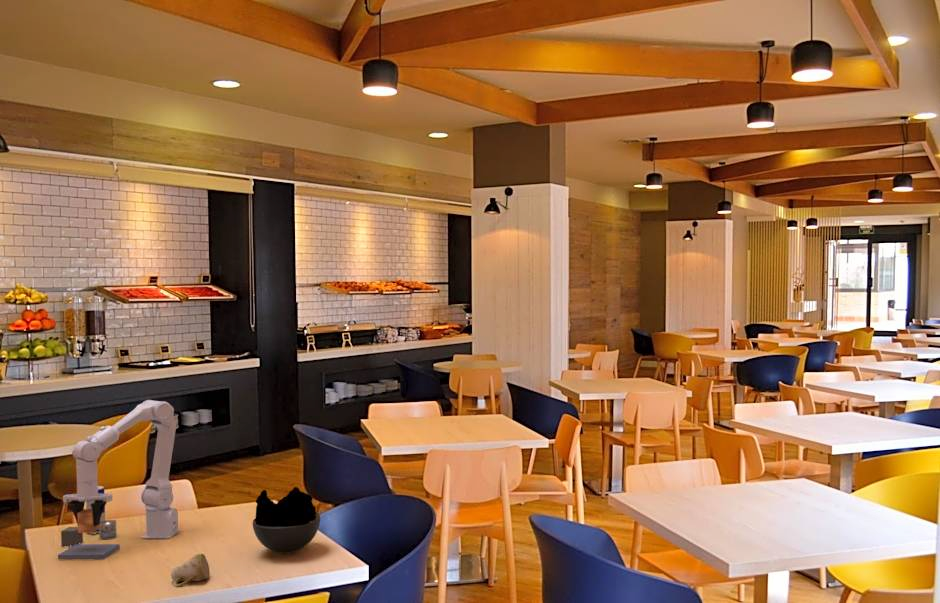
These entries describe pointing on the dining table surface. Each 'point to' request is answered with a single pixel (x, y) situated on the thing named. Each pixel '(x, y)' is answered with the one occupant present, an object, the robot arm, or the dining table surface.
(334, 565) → the dining table surface
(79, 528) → the terracotta block
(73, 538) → the black rubber block
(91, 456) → the robot arm
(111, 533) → the grey cube
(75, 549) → the blue-grey rectangular slab
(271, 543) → the bowl of black rocks
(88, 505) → the grey blue tall box
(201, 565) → the beige lumpy soft piece
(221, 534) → the dining table surface
